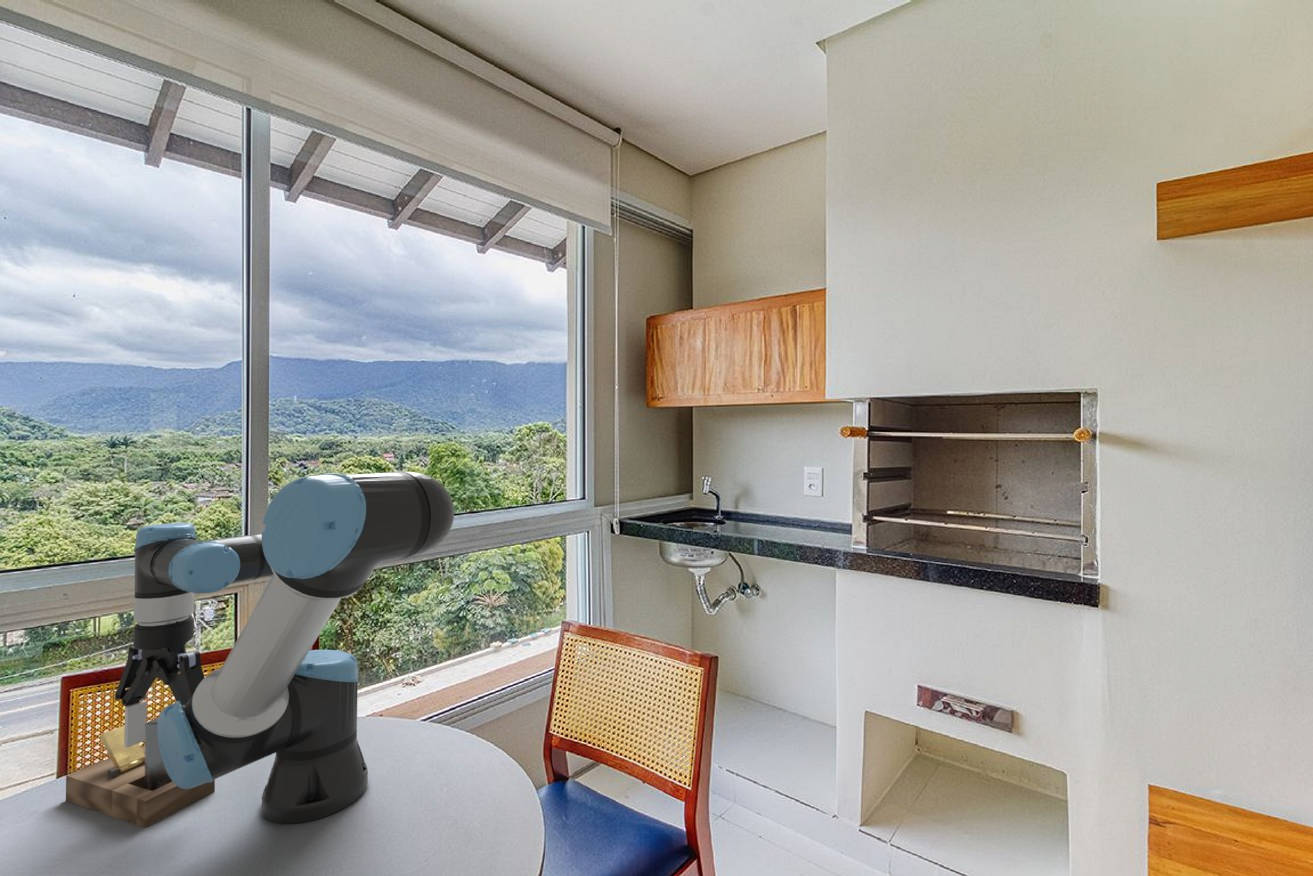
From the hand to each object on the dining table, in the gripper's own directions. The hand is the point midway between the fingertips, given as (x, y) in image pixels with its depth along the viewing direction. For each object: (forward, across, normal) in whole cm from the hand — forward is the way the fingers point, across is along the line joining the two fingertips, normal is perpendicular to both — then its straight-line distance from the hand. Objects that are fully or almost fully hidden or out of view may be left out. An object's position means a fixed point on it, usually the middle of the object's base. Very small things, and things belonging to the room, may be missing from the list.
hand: (162, 751), depth 94 cm
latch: (+2, +10, 0) cm, 10 cm away
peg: (+8, 0, 0) cm, 8 cm away
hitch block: (+8, +5, 0) cm, 10 cm away
